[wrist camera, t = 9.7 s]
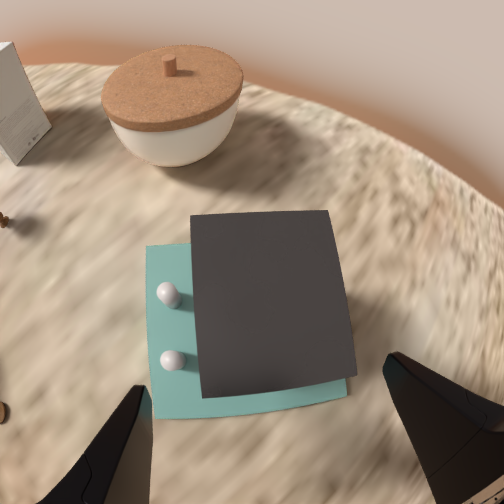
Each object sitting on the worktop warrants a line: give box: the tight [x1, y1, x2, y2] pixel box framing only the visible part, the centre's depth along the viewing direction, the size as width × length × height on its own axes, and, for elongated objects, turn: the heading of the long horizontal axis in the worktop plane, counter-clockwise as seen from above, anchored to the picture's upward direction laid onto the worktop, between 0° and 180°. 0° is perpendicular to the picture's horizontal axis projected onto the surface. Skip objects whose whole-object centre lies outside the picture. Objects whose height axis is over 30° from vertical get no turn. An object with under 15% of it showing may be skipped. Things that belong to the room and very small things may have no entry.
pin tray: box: [146, 243, 347, 419], centre depth 18 cm, size 12×13×4 cm
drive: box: [190, 210, 357, 399], centre depth 14 cm, size 6×5×10 cm
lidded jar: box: [101, 45, 243, 167], centre depth 20 cm, size 11×11×9 cm
